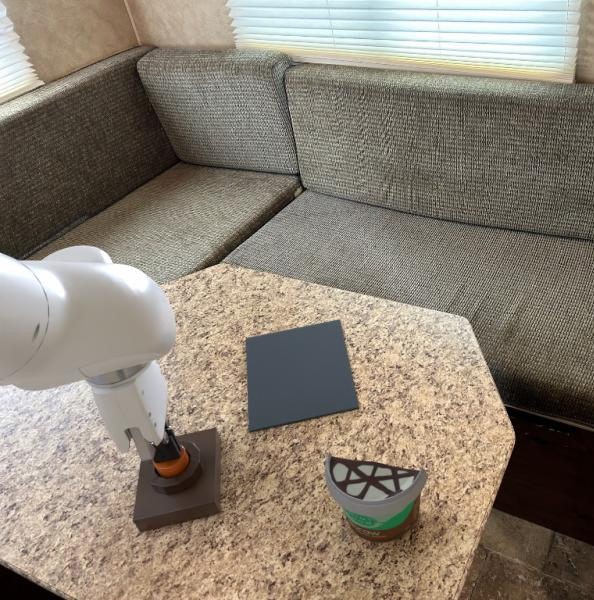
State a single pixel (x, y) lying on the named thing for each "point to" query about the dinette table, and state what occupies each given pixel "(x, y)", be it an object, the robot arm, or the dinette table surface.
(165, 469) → the button
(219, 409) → the dinette table surface
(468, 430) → the dinette table surface
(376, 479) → the food container
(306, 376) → the mat
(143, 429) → the robot arm
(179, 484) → the button box
